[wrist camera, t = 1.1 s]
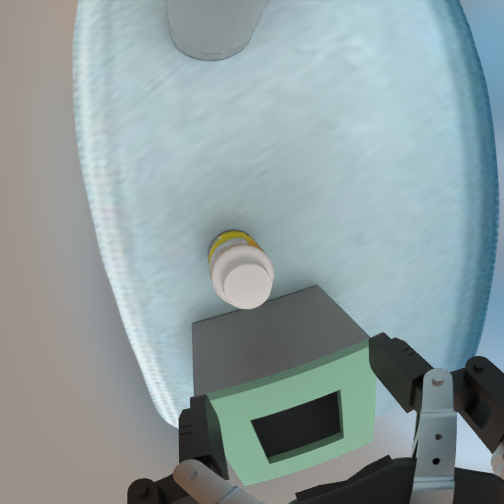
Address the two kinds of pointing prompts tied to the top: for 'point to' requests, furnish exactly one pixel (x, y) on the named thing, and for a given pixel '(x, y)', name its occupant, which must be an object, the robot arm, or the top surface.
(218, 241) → the supplement bottle
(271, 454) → the box
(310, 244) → the top surface
